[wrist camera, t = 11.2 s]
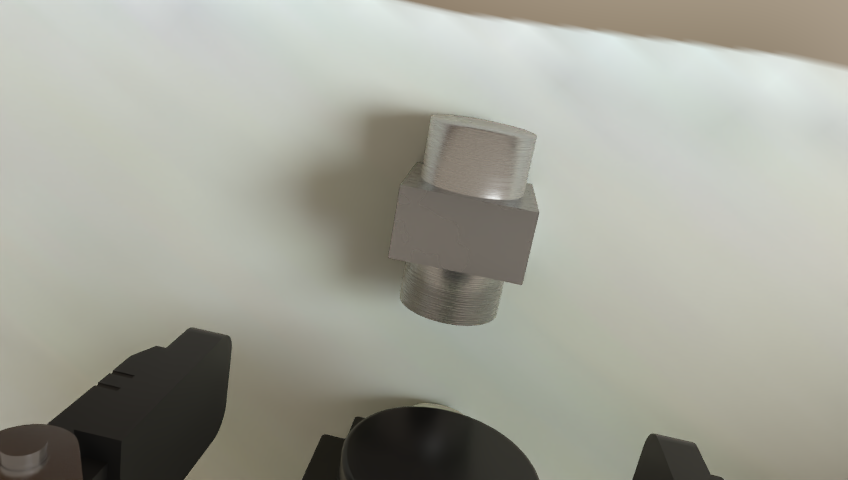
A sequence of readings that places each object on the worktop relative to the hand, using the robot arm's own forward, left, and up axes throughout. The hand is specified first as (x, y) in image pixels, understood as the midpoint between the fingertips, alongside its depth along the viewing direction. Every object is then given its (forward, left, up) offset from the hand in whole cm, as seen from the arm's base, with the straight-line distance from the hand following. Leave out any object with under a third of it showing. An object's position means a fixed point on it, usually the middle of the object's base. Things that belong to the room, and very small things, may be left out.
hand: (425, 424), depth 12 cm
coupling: (0, 0, -19) cm, 19 cm away
